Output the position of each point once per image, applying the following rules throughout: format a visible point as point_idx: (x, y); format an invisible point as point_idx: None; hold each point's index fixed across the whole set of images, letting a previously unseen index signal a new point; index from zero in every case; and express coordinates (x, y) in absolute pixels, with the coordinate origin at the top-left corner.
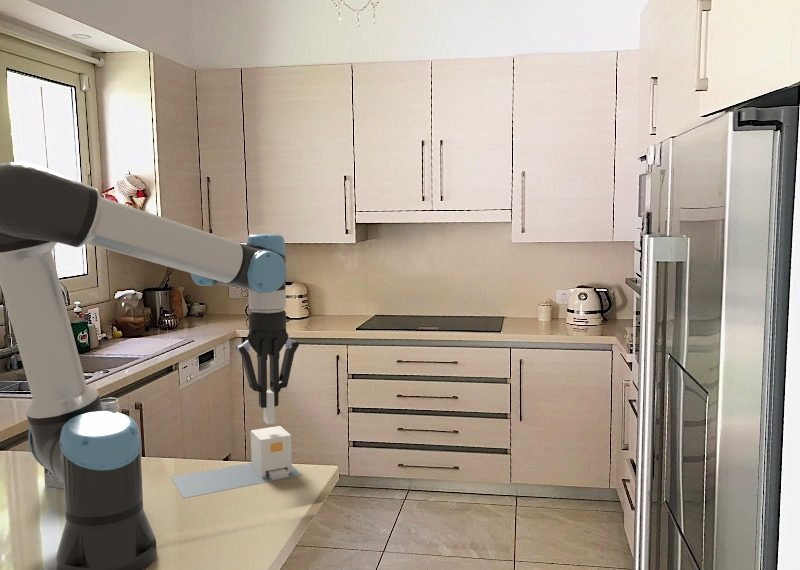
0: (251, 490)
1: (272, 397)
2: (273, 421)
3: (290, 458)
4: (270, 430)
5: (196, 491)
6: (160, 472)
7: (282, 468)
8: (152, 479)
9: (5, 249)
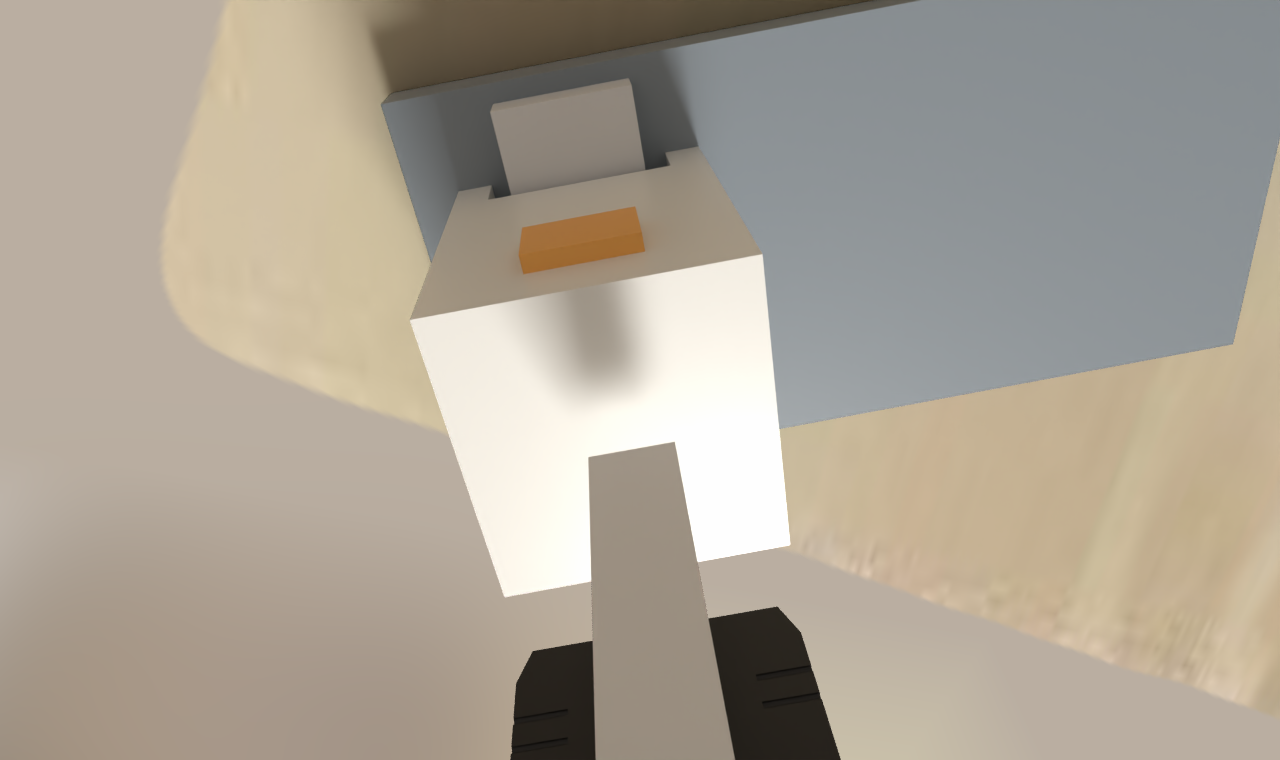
0: None
1: (628, 743)
2: (601, 471)
3: (455, 226)
4: None
5: (1196, 31)
6: (1182, 497)
7: None
8: (1257, 417)
9: None
